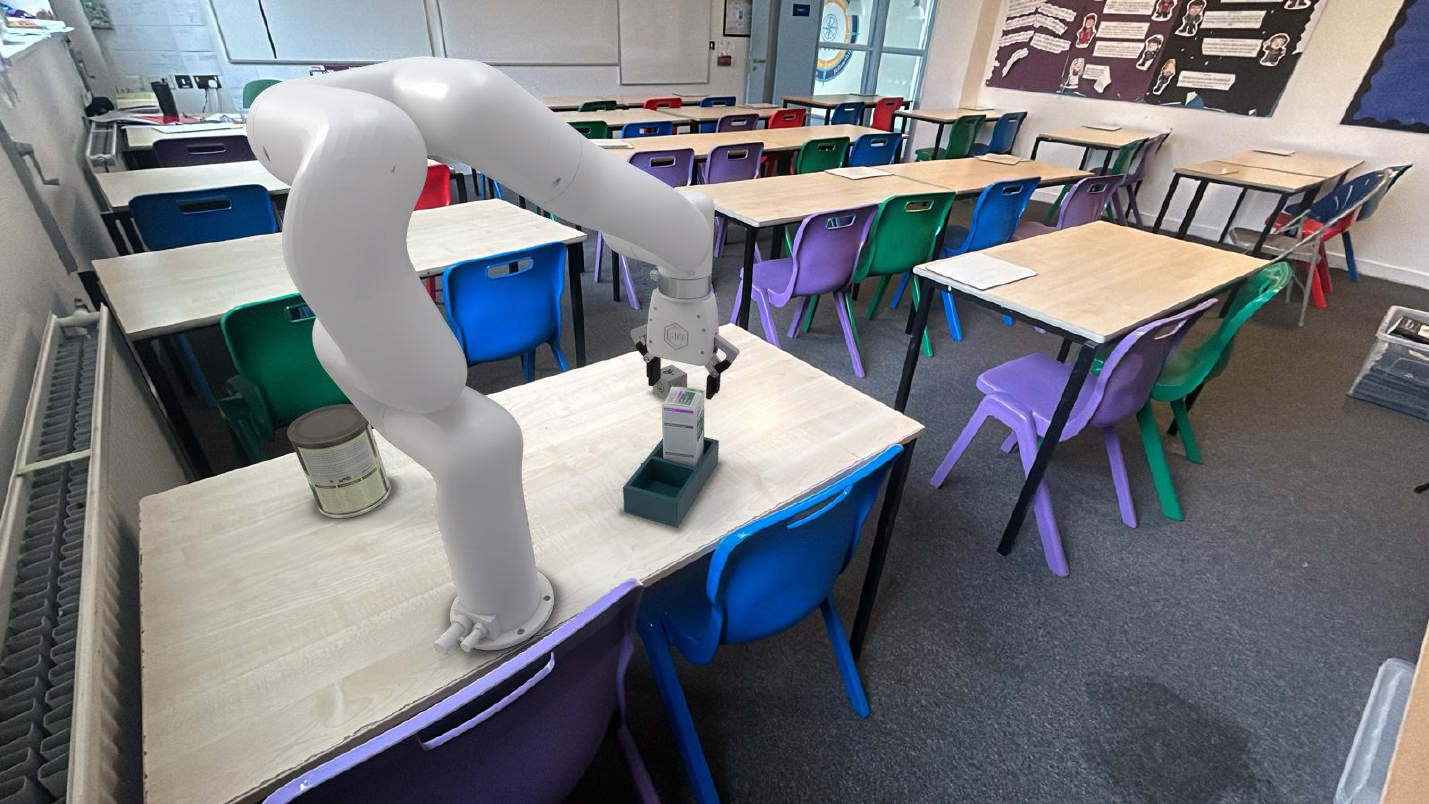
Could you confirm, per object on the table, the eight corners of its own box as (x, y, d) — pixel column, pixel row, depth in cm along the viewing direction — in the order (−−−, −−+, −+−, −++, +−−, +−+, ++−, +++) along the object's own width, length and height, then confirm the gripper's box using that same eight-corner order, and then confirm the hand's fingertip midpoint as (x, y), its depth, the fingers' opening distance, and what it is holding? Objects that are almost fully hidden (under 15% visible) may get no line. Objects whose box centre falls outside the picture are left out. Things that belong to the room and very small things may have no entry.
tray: (677, 528, 92) (677, 502, 89) (624, 512, 94) (622, 487, 92) (718, 463, 106) (719, 440, 103) (670, 451, 108) (670, 428, 106)
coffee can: (302, 505, 93) (270, 430, 86) (362, 469, 101) (337, 397, 94) (347, 527, 89) (318, 450, 82) (406, 488, 97) (383, 414, 90)
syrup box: (696, 482, 100) (698, 407, 92) (662, 476, 101) (661, 402, 93) (704, 461, 105) (706, 389, 97) (671, 456, 106) (670, 384, 98)
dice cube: (671, 385, 128) (671, 364, 126) (687, 394, 125) (687, 373, 123) (653, 392, 125) (652, 371, 123) (668, 402, 122) (667, 381, 120)
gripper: (617, 281, 85) (621, 387, 94) (733, 302, 80) (726, 412, 89) (641, 266, 91) (643, 367, 100) (751, 285, 86) (742, 390, 95)
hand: (682, 388), depth 94 cm, fingers open, 9 cm apart
